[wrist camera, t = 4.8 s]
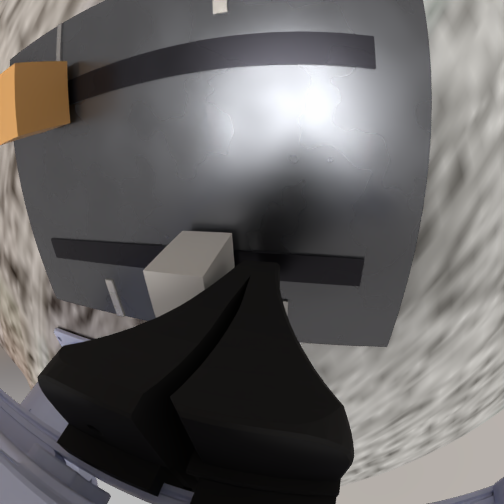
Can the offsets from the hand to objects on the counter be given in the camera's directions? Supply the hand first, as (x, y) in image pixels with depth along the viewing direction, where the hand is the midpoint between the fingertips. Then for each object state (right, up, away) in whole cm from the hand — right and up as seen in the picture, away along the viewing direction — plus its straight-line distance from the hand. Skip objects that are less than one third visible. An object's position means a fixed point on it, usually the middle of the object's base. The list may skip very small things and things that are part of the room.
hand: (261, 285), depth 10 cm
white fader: (-2, +1, +1) cm, 2 cm away
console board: (-4, +5, +2) cm, 7 cm away
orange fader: (-9, +8, -1) cm, 12 cm away
